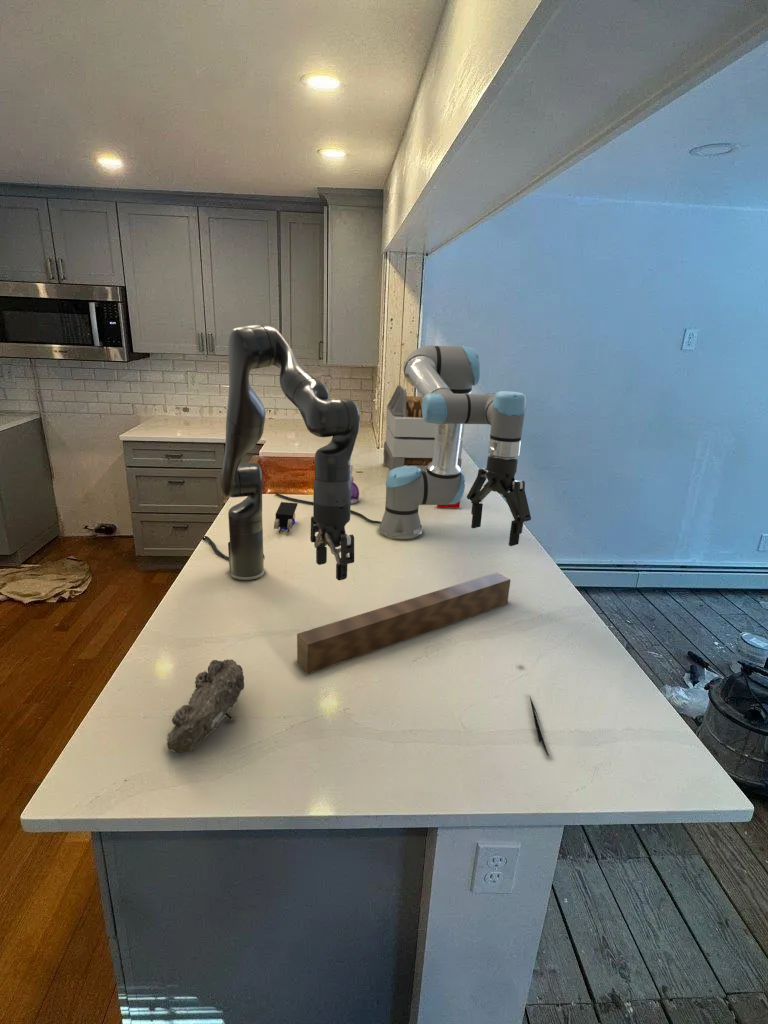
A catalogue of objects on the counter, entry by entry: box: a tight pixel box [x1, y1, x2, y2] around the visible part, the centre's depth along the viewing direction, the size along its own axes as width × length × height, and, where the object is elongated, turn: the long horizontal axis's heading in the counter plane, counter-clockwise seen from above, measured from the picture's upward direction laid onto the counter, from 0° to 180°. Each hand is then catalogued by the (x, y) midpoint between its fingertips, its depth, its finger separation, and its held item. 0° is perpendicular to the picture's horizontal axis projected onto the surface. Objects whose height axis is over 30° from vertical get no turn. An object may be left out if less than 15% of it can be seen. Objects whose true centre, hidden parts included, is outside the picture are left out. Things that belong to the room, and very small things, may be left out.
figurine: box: [350, 464, 360, 505], centre depth 228 cm, size 9×10×15 cm
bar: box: [296, 572, 511, 675], centre depth 139 cm, size 61×5×7 cm, turn 125°
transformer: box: [383, 384, 465, 471], centre depth 268 cm, size 34×33×41 cm
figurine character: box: [273, 501, 298, 534], centre depth 199 cm, size 7×8×15 cm
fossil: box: [166, 658, 245, 754], centre depth 106 cm, size 22×10×15 cm
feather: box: [529, 696, 549, 756], centre depth 114 cm, size 2×28×2 cm
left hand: (331, 571), depth 120 cm, fingers open, 8 cm apart
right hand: (493, 535), depth 147 cm, fingers open, 13 cm apart
